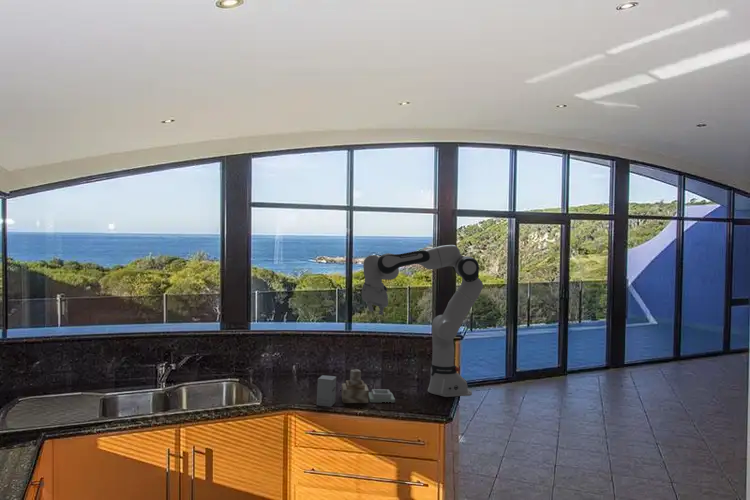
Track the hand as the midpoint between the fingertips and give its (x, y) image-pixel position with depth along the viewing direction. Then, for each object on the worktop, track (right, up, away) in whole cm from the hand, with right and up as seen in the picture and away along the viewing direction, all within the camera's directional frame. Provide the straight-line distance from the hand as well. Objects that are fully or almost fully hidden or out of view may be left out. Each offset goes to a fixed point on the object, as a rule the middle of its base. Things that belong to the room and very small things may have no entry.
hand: (376, 312), depth 301 cm
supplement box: (-24, -41, -19) cm, 51 cm away
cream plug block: (-10, -35, -10) cm, 38 cm away
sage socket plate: (+2, -41, -7) cm, 42 cm away
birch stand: (-11, -41, -10) cm, 43 cm away
